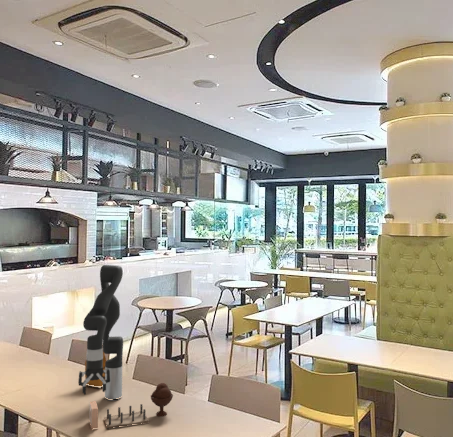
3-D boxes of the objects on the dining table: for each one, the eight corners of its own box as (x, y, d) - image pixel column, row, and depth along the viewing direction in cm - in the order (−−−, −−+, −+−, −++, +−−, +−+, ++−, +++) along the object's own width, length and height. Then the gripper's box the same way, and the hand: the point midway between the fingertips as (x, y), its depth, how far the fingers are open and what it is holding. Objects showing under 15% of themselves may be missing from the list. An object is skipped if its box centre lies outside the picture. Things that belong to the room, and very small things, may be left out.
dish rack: (104, 419, 222) (104, 407, 223) (143, 413, 230) (143, 402, 230) (107, 429, 211) (107, 416, 212) (148, 423, 218) (148, 411, 219)
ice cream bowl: (146, 414, 229) (146, 384, 229) (164, 408, 237) (164, 379, 237) (158, 420, 221) (159, 389, 222) (177, 414, 229) (177, 384, 230)
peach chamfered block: (89, 421, 220) (89, 401, 220) (95, 420, 221) (95, 401, 221) (91, 430, 211) (91, 409, 211) (97, 429, 212) (98, 408, 212)
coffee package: (98, 390, 263) (99, 351, 263) (82, 387, 268) (82, 349, 269) (110, 385, 272) (110, 348, 272) (94, 382, 277) (94, 345, 278)
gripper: (108, 354, 223) (108, 388, 222) (78, 357, 218) (77, 392, 217) (111, 358, 216) (110, 393, 215) (79, 361, 211) (78, 397, 210)
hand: (94, 392), depth 216 cm, fingers open, 8 cm apart
